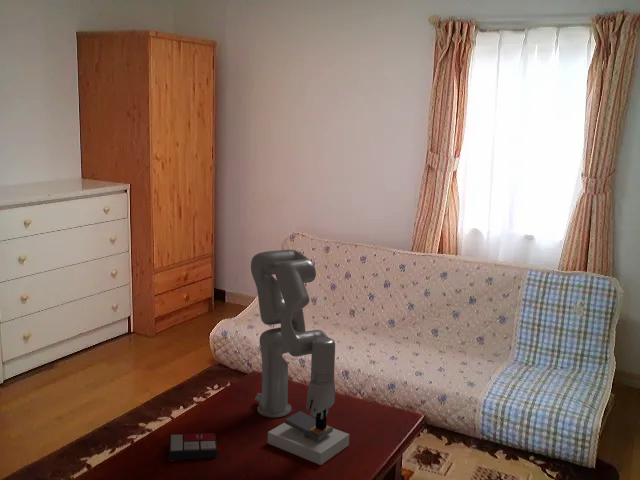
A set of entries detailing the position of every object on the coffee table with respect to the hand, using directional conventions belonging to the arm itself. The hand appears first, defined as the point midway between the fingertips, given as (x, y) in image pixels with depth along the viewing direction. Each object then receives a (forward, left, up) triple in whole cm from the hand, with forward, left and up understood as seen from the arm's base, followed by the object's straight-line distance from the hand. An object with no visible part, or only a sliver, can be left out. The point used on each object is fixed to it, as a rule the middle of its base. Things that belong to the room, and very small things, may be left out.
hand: (320, 428), depth 208 cm
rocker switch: (-5, 0, -1) cm, 5 cm away
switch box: (-5, 0, -7) cm, 9 cm away
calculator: (-31, -27, -8) cm, 42 cm away
